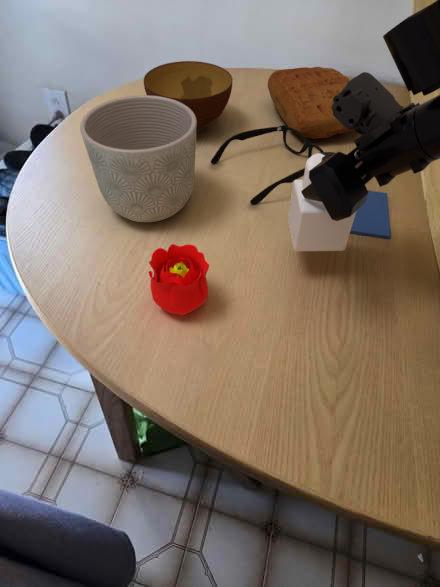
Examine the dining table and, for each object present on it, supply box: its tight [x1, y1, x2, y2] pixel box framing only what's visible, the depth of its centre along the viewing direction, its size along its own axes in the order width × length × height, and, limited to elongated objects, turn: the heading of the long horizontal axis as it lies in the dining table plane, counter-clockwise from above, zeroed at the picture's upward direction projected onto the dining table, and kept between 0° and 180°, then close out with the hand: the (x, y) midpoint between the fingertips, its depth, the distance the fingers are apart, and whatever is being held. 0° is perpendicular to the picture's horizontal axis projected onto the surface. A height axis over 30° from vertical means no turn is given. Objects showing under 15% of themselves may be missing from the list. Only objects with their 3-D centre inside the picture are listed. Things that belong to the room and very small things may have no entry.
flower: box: [148, 243, 210, 316], centre depth 57 cm, size 8×8×8 cm
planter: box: [79, 94, 197, 223], centre depth 68 cm, size 17×17×15 cm
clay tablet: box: [267, 66, 354, 140], centre depth 91 cm, size 22×17×8 cm
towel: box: [350, 190, 392, 240], centre depth 73 cm, size 11×12×1 cm
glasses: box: [210, 124, 325, 205], centre depth 80 cm, size 17×18×5 cm
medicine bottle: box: [287, 151, 356, 252], centre depth 57 cm, size 7×7×12 cm
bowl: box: [143, 60, 233, 134], centre depth 88 cm, size 18×18×10 cm
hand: (316, 183), depth 56 cm, fingers closed on medicine bottle, 6 cm apart
